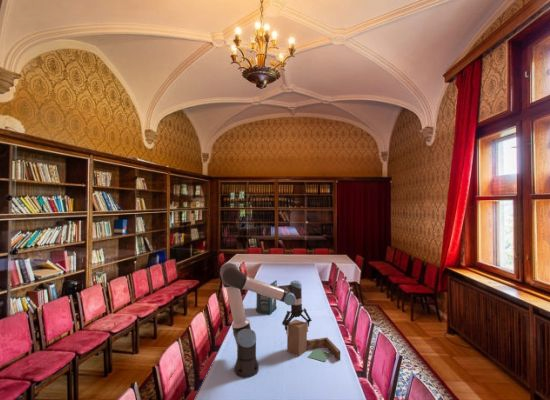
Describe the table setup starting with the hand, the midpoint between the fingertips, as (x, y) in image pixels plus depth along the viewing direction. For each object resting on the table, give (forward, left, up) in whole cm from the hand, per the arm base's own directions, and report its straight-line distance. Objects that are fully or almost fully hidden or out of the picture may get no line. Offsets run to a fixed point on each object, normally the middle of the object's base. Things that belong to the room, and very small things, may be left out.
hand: (297, 333), depth 210 cm
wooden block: (0, 0, -13) cm, 13 cm away
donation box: (-4, +77, -13) cm, 79 cm away
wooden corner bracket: (+16, -8, -12) cm, 22 cm away
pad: (+13, -9, -12) cm, 20 cm away
